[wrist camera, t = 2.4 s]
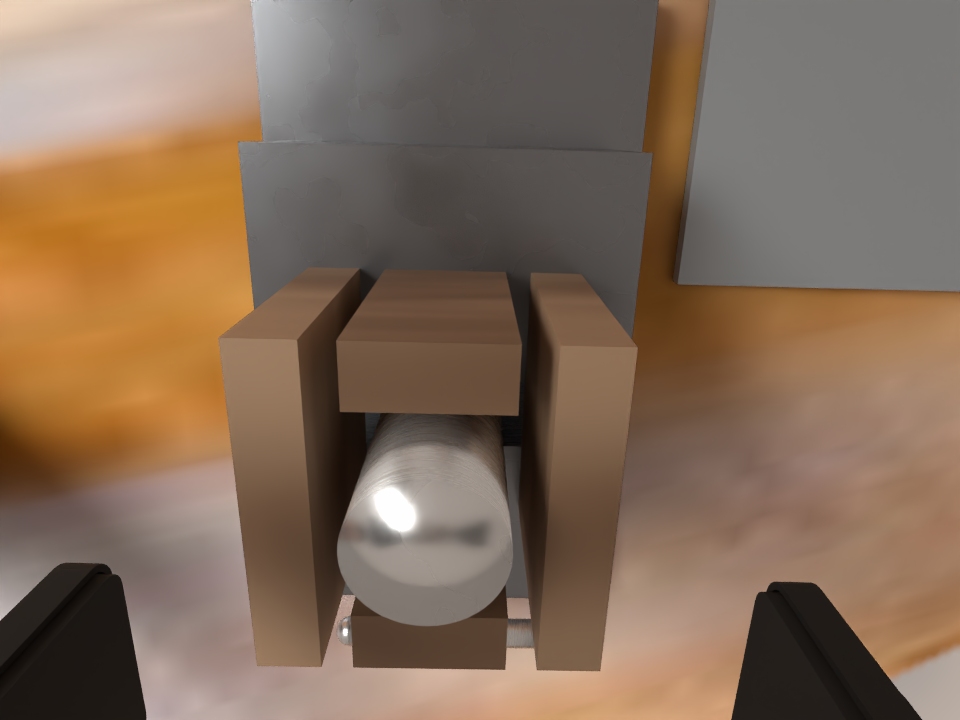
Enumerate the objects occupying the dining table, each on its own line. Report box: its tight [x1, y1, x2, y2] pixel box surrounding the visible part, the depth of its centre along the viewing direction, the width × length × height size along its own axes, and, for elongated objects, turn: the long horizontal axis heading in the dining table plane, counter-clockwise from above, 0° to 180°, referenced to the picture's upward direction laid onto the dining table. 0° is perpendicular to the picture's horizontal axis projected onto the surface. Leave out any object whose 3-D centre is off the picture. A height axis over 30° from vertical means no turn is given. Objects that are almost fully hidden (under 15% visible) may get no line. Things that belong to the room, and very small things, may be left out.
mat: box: [673, 0, 960, 291], centre depth 20 cm, size 16×16×1 cm
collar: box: [218, 267, 638, 671], centre depth 14 cm, size 7×7×6 cm
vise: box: [238, 0, 658, 648], centre depth 17 cm, size 22×12×14 cm, turn 178°
